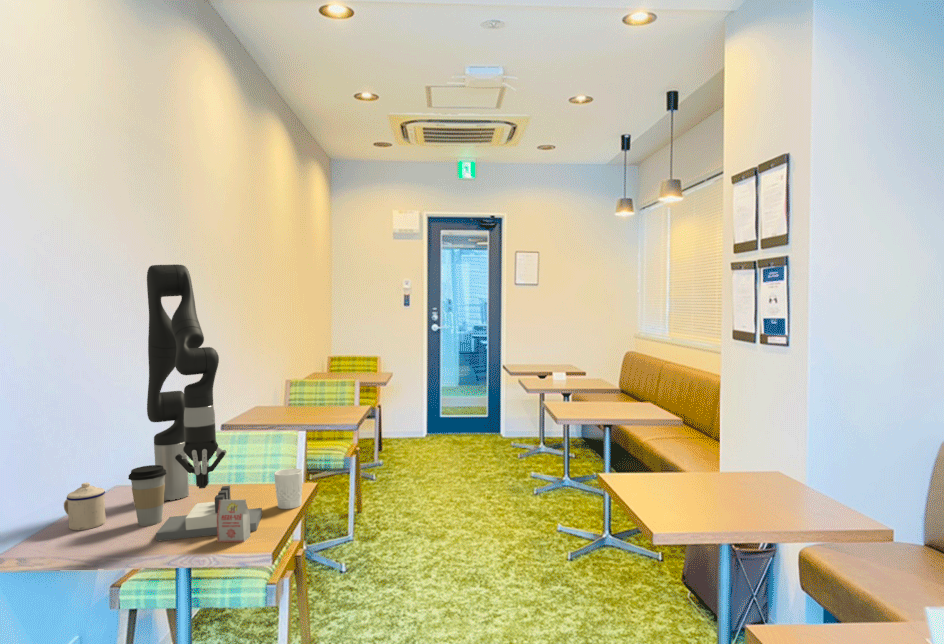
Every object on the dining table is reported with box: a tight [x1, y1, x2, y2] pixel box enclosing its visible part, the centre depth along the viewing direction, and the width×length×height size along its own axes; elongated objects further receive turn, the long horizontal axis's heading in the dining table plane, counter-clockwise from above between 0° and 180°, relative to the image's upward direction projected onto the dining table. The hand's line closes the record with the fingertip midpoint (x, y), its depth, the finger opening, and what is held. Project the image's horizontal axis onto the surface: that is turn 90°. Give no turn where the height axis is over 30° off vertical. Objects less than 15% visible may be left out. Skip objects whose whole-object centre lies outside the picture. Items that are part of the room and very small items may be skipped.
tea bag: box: [217, 499, 251, 543], centre depth 157 cm, size 4×7×10 cm, turn 85°
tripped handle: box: [217, 489, 228, 500], centre depth 167 cm, size 2×2×4 cm
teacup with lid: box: [63, 482, 107, 531], centre depth 173 cm, size 12×9×12 cm
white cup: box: [274, 468, 303, 510], centre depth 183 cm, size 8×8×10 cm
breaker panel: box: [155, 485, 263, 542], centre depth 167 cm, size 13×24×9 cm, turn 102°
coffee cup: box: [127, 464, 167, 527], centre depth 173 cm, size 9×9×15 cm
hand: (202, 487), depth 166 cm, fingers closed
